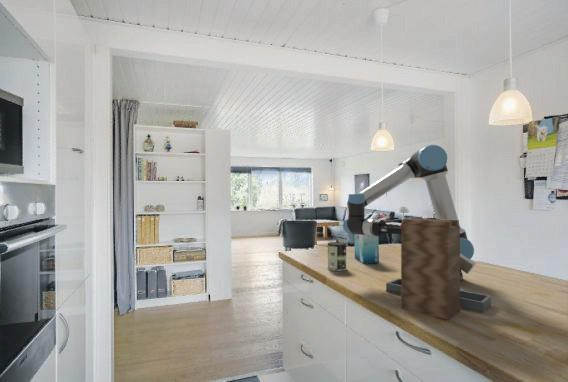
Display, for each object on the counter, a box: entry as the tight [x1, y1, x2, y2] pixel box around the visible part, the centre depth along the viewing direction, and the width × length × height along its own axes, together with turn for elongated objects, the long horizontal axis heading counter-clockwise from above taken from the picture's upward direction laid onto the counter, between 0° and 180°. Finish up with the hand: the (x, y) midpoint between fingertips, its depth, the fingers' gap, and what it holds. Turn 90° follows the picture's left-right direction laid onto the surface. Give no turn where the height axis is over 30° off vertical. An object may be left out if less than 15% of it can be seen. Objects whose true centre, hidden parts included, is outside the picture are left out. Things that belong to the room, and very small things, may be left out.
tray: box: [385, 278, 492, 314], centre depth 130 cm, size 36×11×4 cm, turn 46°
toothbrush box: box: [353, 234, 380, 264], centre depth 203 cm, size 18×10×24 cm, turn 4°
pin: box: [399, 221, 477, 274], centre depth 130 cm, size 30×4×4 cm, turn 45°
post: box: [400, 217, 461, 321], centre depth 117 cm, size 16×12×32 cm
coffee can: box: [327, 241, 347, 272], centre depth 180 cm, size 10×10×14 cm
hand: (427, 231), depth 132 cm, fingers closed on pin, 4 cm apart
